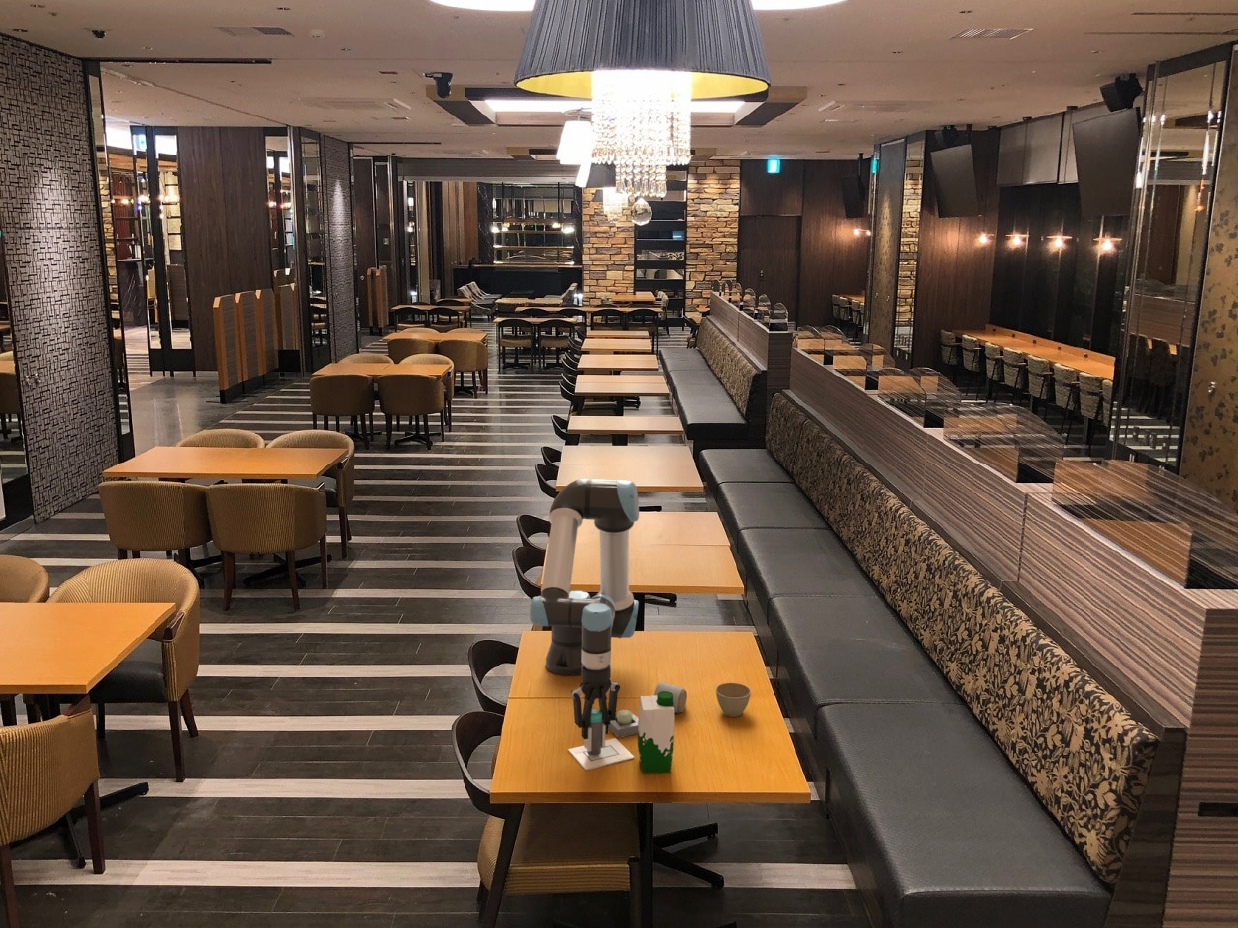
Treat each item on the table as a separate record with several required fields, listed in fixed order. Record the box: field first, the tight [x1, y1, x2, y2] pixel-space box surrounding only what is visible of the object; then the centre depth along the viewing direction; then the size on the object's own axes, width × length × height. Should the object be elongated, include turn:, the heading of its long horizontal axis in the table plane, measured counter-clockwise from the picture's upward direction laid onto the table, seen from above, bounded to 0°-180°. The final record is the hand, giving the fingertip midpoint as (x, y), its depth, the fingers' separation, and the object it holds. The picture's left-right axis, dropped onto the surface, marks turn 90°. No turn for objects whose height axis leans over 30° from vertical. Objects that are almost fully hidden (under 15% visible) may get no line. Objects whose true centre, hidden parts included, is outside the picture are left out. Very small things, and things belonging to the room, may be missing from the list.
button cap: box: [616, 709, 633, 726], centre depth 287 cm, size 4×4×3 cm
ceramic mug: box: [653, 681, 688, 714], centre depth 299 cm, size 11×8×8 cm
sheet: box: [567, 737, 635, 771], centre depth 274 cm, size 11×14×1 cm
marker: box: [587, 709, 602, 757], centre depth 271 cm, size 4×4×12 cm
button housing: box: [608, 712, 639, 739], centre depth 287 cm, size 8×8×2 cm
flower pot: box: [715, 682, 752, 718], centre depth 297 cm, size 10×10×7 cm
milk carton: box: [637, 691, 675, 774], centre depth 266 cm, size 9×9×20 cm
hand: (594, 747), depth 272 cm, fingers closed on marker, 3 cm apart
